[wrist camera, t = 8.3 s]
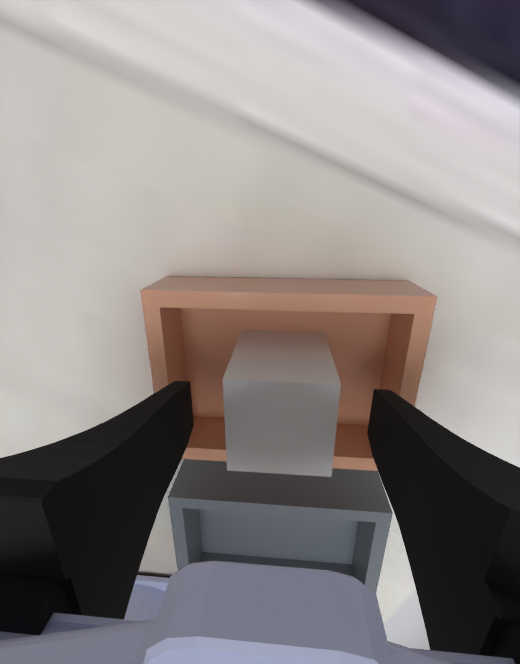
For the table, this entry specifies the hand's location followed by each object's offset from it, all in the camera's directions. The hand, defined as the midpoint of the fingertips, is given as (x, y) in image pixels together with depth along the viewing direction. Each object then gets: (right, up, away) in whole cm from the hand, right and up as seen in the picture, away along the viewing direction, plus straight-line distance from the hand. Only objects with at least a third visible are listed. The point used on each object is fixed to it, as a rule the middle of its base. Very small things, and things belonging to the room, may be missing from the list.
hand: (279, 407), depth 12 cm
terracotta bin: (0, +2, +4) cm, 4 cm away
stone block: (0, +1, +4) cm, 4 cm away
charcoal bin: (0, -9, +8) cm, 12 cm away
